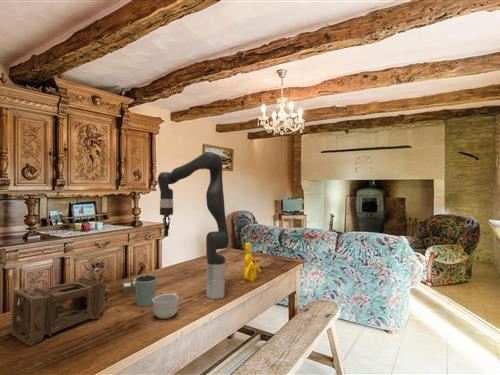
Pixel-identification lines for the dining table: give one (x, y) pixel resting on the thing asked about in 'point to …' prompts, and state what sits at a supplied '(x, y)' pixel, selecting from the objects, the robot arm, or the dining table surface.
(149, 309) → the dining table surface
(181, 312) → the dining table surface
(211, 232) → the robot arm
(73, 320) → the brown lantern
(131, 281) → the key console
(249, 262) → the figure statuette
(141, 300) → the grey-green tumbler
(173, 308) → the teacup
